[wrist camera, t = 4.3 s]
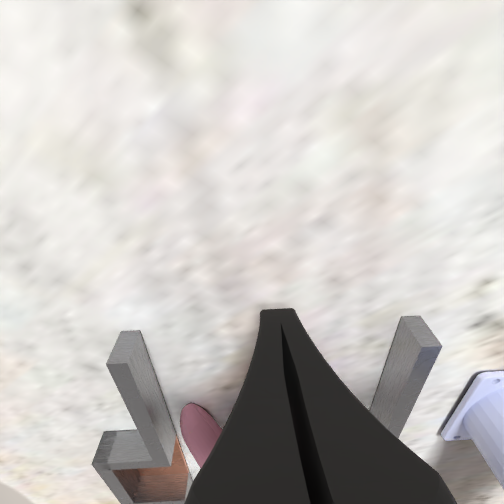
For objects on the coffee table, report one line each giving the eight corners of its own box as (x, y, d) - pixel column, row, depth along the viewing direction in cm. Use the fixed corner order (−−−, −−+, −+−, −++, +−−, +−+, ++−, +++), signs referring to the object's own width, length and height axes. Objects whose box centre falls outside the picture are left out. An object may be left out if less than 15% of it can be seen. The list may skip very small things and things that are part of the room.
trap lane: (493, 311, 15) (543, 359, 13) (383, 505, 30) (397, 544, 28) (44, 335, 15) (5, 388, 13) (157, 518, 30) (149, 560, 28)
